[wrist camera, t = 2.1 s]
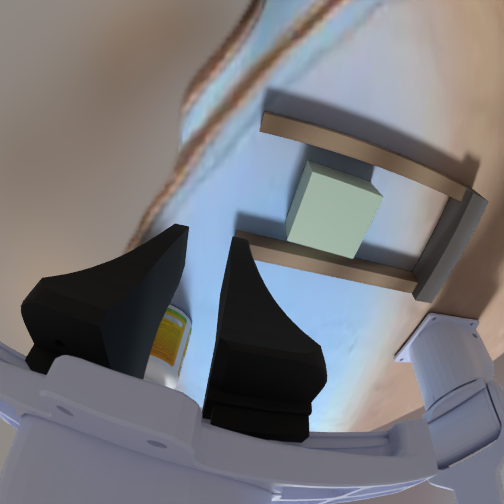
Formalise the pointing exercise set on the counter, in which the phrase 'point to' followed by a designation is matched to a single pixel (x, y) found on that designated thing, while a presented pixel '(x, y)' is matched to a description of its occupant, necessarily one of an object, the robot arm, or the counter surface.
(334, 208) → the block
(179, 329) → the supplement bottle
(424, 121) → the counter surface
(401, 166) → the guide channel
